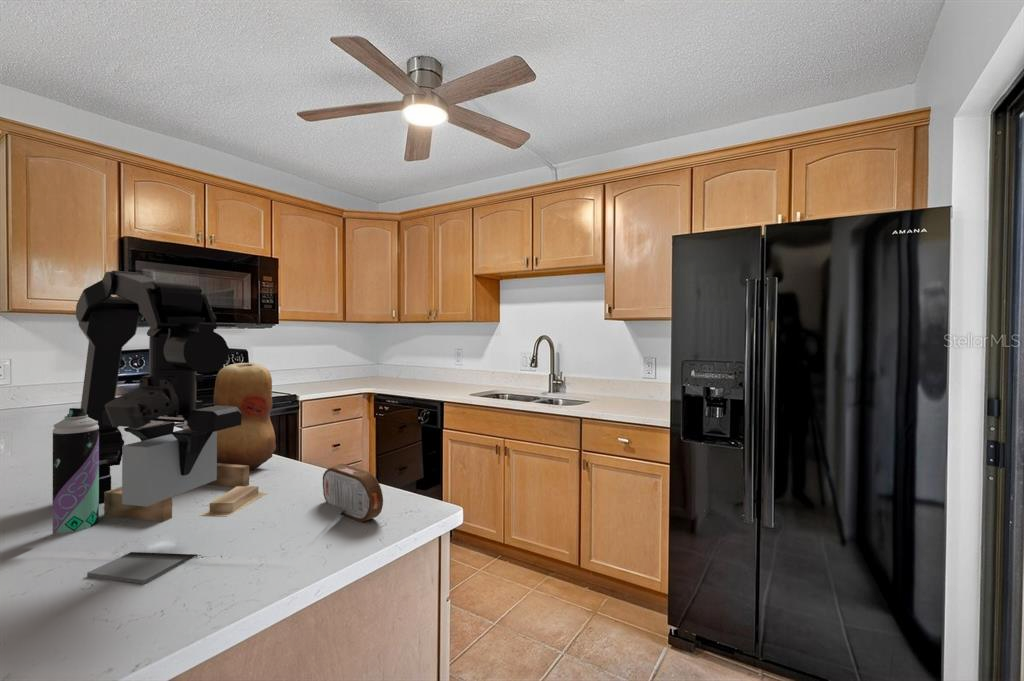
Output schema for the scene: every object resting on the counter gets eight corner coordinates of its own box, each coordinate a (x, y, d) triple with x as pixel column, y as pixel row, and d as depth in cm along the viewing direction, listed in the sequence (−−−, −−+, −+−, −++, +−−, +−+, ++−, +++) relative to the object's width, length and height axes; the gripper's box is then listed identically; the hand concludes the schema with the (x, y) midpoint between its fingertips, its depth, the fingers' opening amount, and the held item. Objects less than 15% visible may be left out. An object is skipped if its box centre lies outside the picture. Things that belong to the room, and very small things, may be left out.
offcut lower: (199, 525, 82) (199, 515, 82) (243, 500, 94) (243, 491, 94) (227, 526, 82) (227, 516, 82) (267, 501, 94) (267, 492, 94)
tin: (384, 522, 84) (384, 474, 83) (369, 528, 81) (369, 478, 81) (334, 503, 93) (334, 459, 92) (319, 507, 90) (319, 462, 90)
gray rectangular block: (122, 503, 66) (122, 445, 66) (195, 477, 78) (195, 428, 77) (146, 506, 65) (147, 447, 65) (216, 479, 77) (217, 429, 77)
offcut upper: (209, 512, 84) (209, 503, 84) (237, 494, 93) (237, 486, 93) (233, 512, 84) (233, 502, 84) (258, 494, 93) (258, 486, 93)
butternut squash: (221, 485, 102) (222, 366, 101) (197, 472, 110) (198, 362, 110) (286, 470, 112) (287, 363, 112) (260, 460, 121) (261, 360, 120)
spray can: (46, 542, 74) (46, 411, 73) (59, 529, 78) (60, 406, 78) (92, 535, 76) (93, 409, 76) (102, 523, 81) (103, 404, 81)
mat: (87, 576, 64) (87, 572, 64) (194, 525, 81) (194, 522, 81) (144, 584, 62) (144, 580, 62) (241, 530, 79) (241, 527, 79)
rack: (104, 521, 82) (104, 492, 82) (199, 485, 101) (199, 461, 101) (163, 527, 80) (163, 497, 80) (249, 489, 99) (249, 465, 99)
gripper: (61, 370, 65) (61, 485, 65) (180, 375, 61) (179, 497, 62) (139, 364, 76) (139, 463, 76) (244, 369, 72) (243, 472, 73)
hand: (172, 473), depth 71 cm, fingers closed on gray rectangular block, 4 cm apart
